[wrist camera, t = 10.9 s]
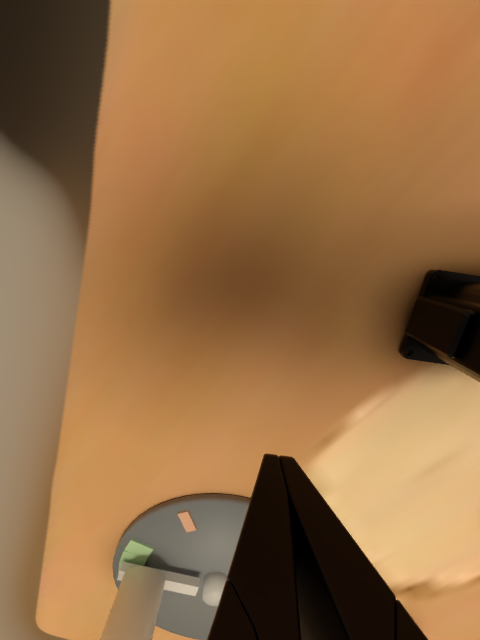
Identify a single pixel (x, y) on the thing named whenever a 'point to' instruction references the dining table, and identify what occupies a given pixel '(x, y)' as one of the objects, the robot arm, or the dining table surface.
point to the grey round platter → (187, 554)
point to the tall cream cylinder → (142, 600)
